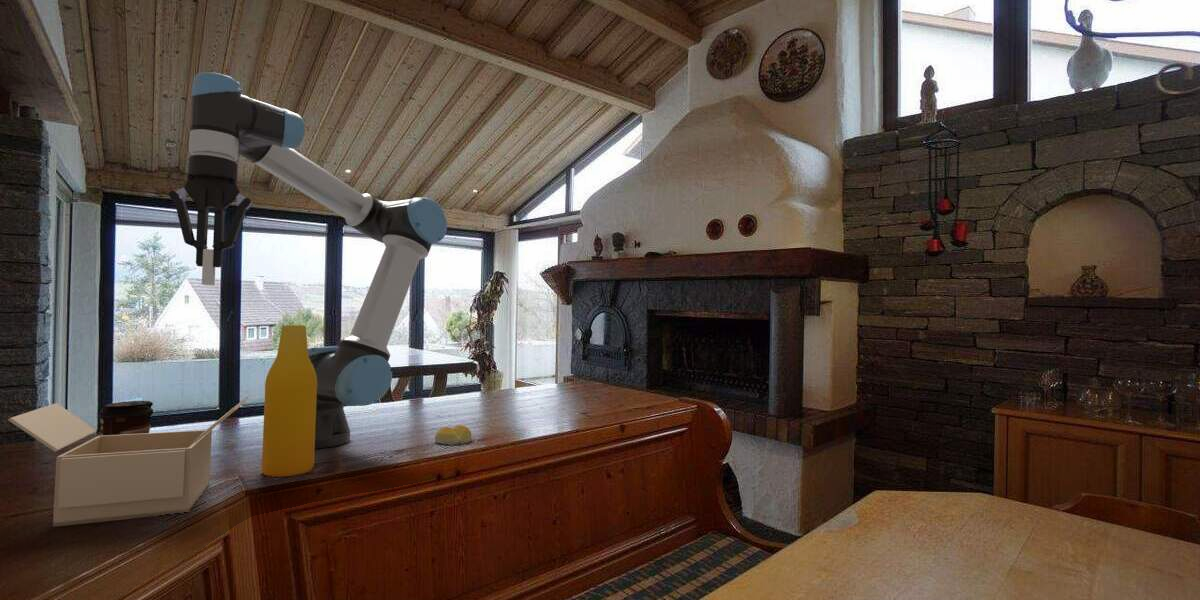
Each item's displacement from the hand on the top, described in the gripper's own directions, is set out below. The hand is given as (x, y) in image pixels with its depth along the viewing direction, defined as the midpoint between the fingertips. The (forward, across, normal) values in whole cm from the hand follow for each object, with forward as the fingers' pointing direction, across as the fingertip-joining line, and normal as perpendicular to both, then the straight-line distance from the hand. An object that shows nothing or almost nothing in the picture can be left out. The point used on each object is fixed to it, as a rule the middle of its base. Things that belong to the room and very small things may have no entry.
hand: (208, 284), depth 102 cm
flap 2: (+23, -5, +10) cm, 26 cm away
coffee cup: (+37, +15, -15) cm, 42 cm away
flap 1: (+23, +17, +10) cm, 30 cm away
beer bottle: (+37, -14, -3) cm, 39 cm away
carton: (+36, +6, +10) cm, 38 cm away
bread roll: (+37, -49, -19) cm, 64 cm away
